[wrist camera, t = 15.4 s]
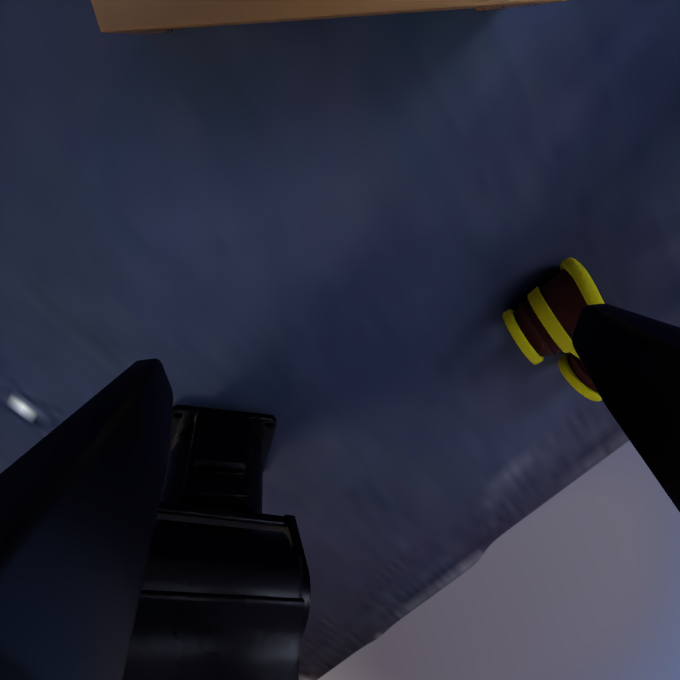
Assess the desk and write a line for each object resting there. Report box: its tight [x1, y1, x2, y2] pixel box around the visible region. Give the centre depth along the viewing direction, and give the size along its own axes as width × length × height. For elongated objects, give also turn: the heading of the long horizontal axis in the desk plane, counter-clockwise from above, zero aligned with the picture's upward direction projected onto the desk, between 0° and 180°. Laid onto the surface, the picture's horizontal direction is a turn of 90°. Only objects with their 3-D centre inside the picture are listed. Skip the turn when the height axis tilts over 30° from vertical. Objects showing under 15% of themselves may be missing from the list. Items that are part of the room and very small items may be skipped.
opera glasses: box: [502, 258, 604, 401], centre depth 25 cm, size 10×5×5 cm, turn 54°
